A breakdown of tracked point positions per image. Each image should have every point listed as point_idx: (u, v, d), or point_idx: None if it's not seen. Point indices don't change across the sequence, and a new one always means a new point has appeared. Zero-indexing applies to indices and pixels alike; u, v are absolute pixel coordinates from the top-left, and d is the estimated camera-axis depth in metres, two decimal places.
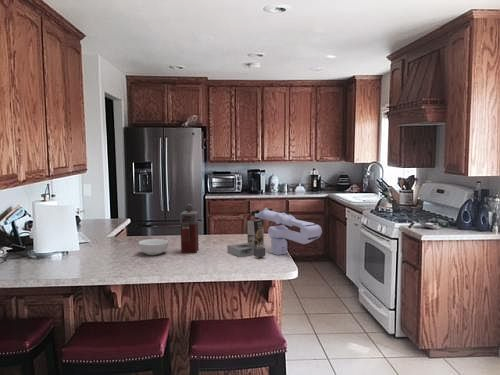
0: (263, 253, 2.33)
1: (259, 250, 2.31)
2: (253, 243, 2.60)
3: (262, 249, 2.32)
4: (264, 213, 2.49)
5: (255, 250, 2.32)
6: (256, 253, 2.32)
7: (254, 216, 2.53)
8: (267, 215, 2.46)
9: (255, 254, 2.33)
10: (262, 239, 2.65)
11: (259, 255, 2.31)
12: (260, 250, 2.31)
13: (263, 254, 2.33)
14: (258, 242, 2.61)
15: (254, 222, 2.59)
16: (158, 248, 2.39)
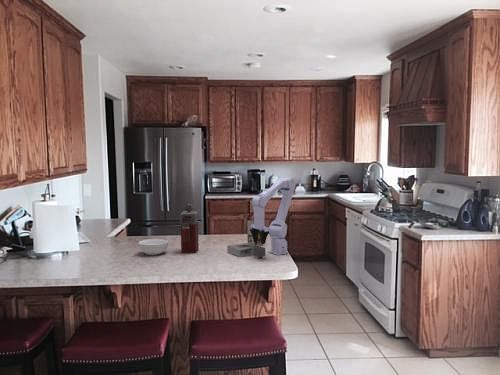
0: (263, 253, 2.33)
1: (259, 250, 2.31)
2: (253, 243, 2.60)
3: (262, 249, 2.32)
4: (260, 224, 2.30)
5: (255, 250, 2.32)
6: (256, 253, 2.32)
7: (266, 236, 2.29)
8: (261, 218, 2.29)
9: (255, 254, 2.33)
10: None
11: (259, 255, 2.31)
12: (260, 250, 2.31)
13: (263, 254, 2.33)
14: (258, 242, 2.61)
15: None
16: (158, 248, 2.39)
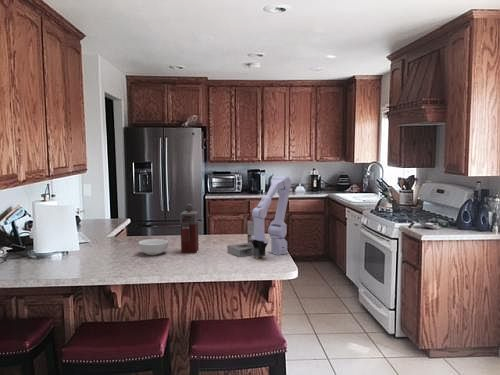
0: None
1: None
2: None
3: None
4: (260, 236, 2.30)
5: (255, 250, 2.32)
6: (256, 253, 2.32)
7: (265, 247, 2.31)
8: (261, 230, 2.30)
9: (255, 254, 2.33)
10: None
11: (259, 255, 2.31)
12: None
13: None
14: None
15: None
16: (158, 248, 2.39)
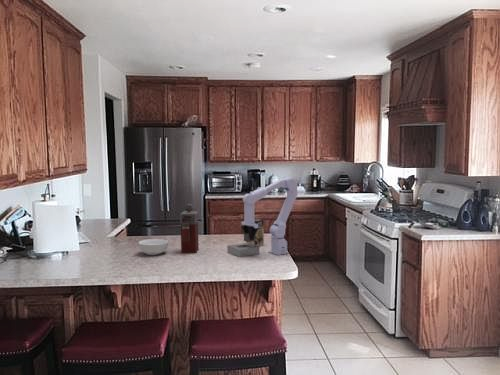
0: None
1: None
2: (253, 243, 2.60)
3: None
4: (250, 221, 2.36)
5: (245, 235, 2.38)
6: (246, 238, 2.37)
7: (255, 232, 2.37)
8: (251, 215, 2.36)
9: (245, 239, 2.38)
10: (262, 239, 2.65)
11: (249, 240, 2.37)
12: None
13: None
14: (258, 242, 2.61)
15: None
16: (158, 248, 2.39)
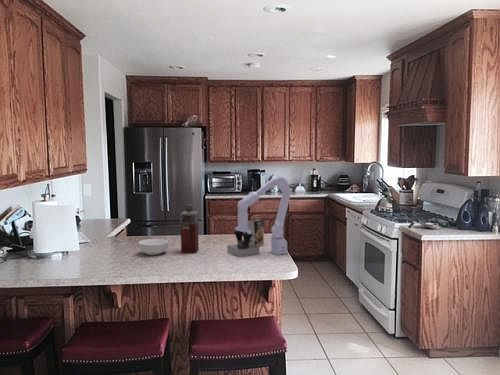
0: (246, 246, 2.43)
1: (242, 243, 2.42)
2: (253, 243, 2.60)
3: None
4: (243, 227, 2.41)
5: (239, 243, 2.43)
6: (240, 246, 2.42)
7: (249, 238, 2.40)
8: (244, 221, 2.40)
9: (239, 247, 2.43)
10: (262, 239, 2.65)
11: None
12: (243, 243, 2.42)
13: None
14: (258, 242, 2.61)
15: (254, 222, 2.59)
16: (158, 248, 2.39)
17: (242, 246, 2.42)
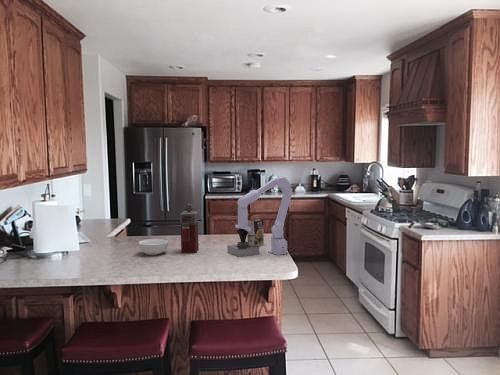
0: None
1: (242, 244, 2.42)
2: (253, 243, 2.60)
3: (245, 243, 2.43)
4: (243, 224, 2.40)
5: (239, 244, 2.43)
6: (240, 247, 2.42)
7: (246, 235, 2.43)
8: (244, 219, 2.40)
9: None
10: (262, 239, 2.65)
11: None
12: (243, 244, 2.42)
13: None
14: (258, 242, 2.61)
15: (254, 222, 2.59)
16: (158, 248, 2.39)
17: (242, 247, 2.42)
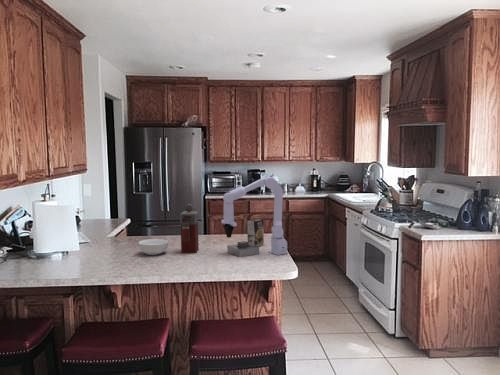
0: None
1: (242, 244, 2.42)
2: (253, 243, 2.60)
3: (245, 243, 2.43)
4: (229, 219, 2.40)
5: (239, 244, 2.43)
6: (240, 247, 2.42)
7: (232, 230, 2.43)
8: (230, 214, 2.40)
9: None
10: (262, 239, 2.65)
11: None
12: (243, 244, 2.42)
13: None
14: (258, 242, 2.61)
15: (254, 222, 2.59)
16: (158, 248, 2.39)
17: (242, 247, 2.42)
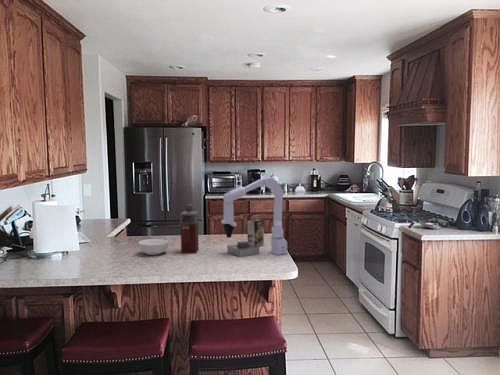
0: None
1: (242, 244, 2.42)
2: (253, 243, 2.60)
3: (245, 243, 2.43)
4: (229, 219, 2.40)
5: (239, 244, 2.43)
6: (240, 247, 2.42)
7: (232, 230, 2.43)
8: (230, 214, 2.40)
9: None
10: (262, 239, 2.65)
11: None
12: (243, 244, 2.42)
13: None
14: (258, 242, 2.61)
15: (254, 222, 2.59)
16: (158, 248, 2.39)
17: (242, 247, 2.42)
